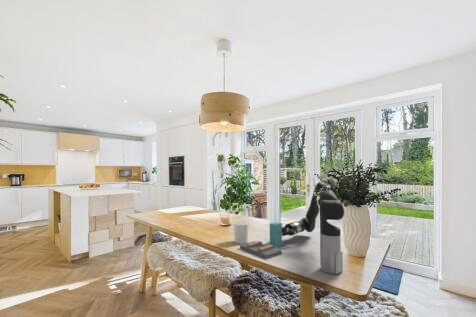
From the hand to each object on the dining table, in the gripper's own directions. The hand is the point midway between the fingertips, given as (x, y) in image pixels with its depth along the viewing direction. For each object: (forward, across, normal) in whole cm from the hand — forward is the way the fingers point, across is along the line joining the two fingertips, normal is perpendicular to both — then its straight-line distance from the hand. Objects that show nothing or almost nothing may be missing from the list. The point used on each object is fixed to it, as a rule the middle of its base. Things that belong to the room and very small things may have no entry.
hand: (277, 232), depth 153 cm
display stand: (+15, 0, +8) cm, 17 cm away
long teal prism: (+1, 0, +8) cm, 8 cm away
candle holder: (+12, -20, +8) cm, 25 cm away
